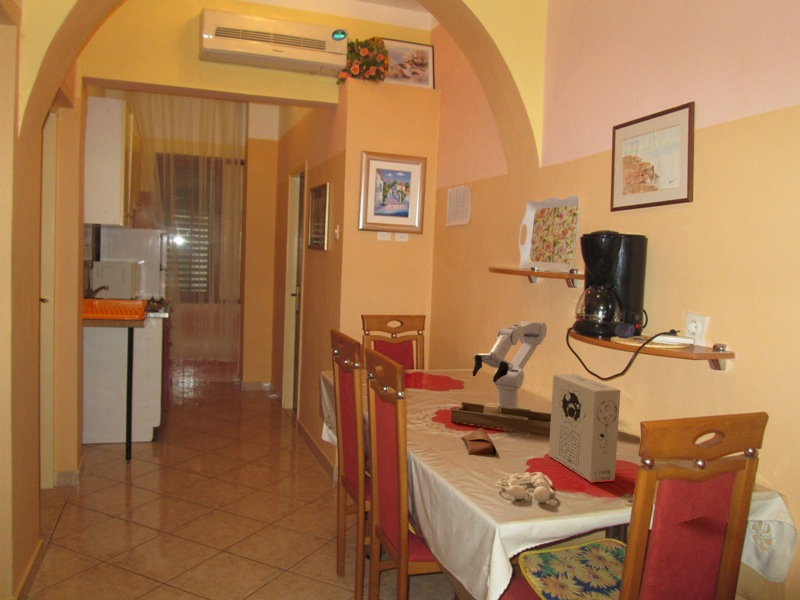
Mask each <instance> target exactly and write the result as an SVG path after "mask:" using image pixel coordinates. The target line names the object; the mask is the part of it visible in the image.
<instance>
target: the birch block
mask: <svg viewBox="0 0 800 600" xmlns="http://www.w3.org/2000/svg"><path fill="white" fill-rule="evenodd" d="M483 405H484V414H491V415H498V416H499V414H501V404H497V403H494V402H486V403H485V404H483Z"/></svg>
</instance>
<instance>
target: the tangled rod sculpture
mask: <svg viewBox="0 0 800 600" xmlns="http://www.w3.org/2000/svg"><path fill="white" fill-rule="evenodd" d="M524 484H531V485H532V487H533V488H534V491H533V494H532V493H530V492H529V491H527V490H526V489H525V488H524V487H523V486H522V485H524ZM504 486H508V487H504ZM495 487H497V488H499V489H503V490H504V491H505V492H506V494H507V495H509V497H513V498H514V499H515V500H516V499H517V500H522V499H524V498H525V497H526V495H528V497H530V498H532V497H533V498H534V499H535V500H536V501H537V503H545V502H547V501H548V500H549V499H550V495H555V494H556V491H555V490H553V489H552V488H551V487H553V482H552V480H551V479H550V478H549V476H548V475H545V474H543V472H540V471H535V472H529V471H526V472H525V473H517V472H516V473H509V474H508V476H506V477H503V478H499V479H498V481H497V482H496V483H495Z"/></svg>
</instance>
